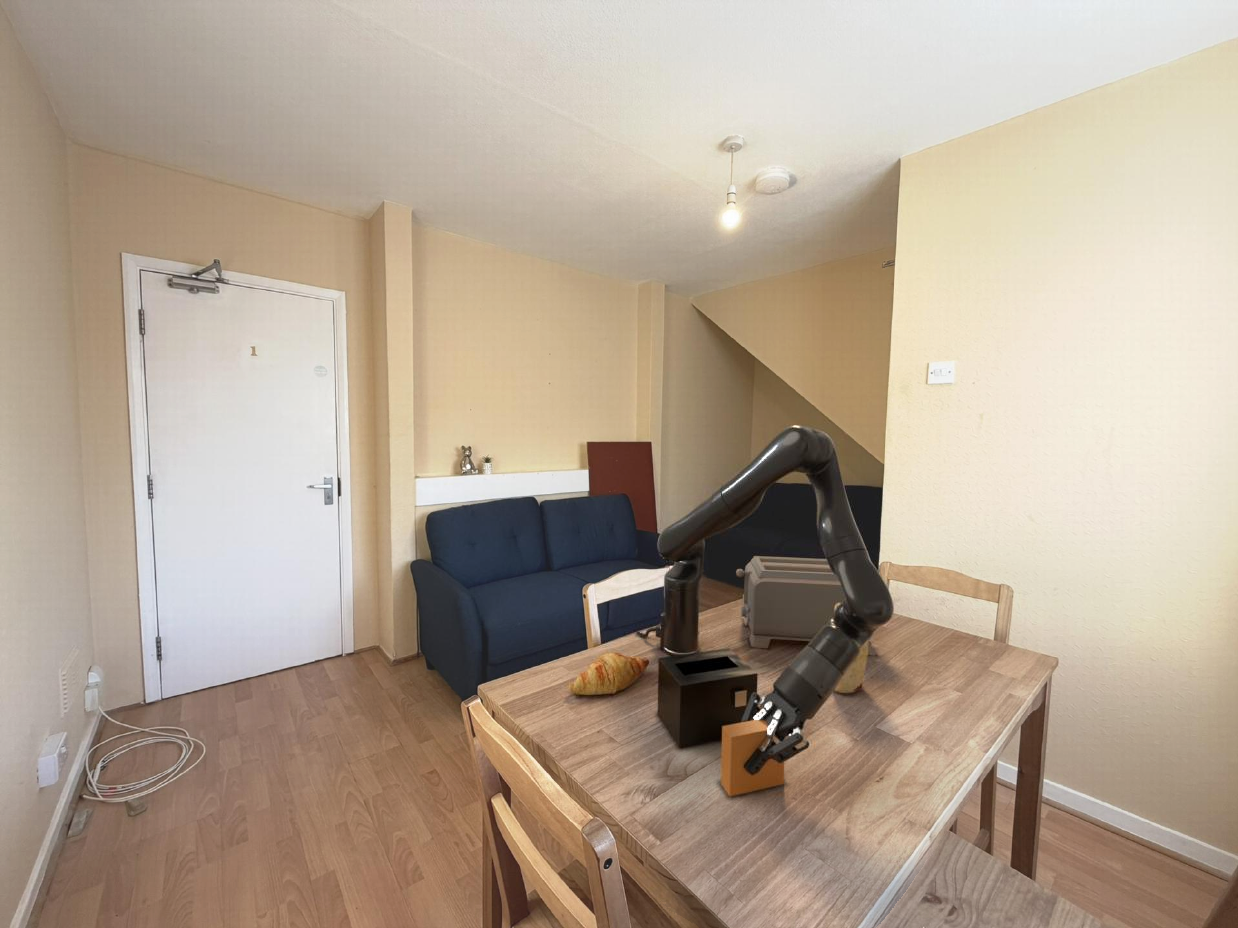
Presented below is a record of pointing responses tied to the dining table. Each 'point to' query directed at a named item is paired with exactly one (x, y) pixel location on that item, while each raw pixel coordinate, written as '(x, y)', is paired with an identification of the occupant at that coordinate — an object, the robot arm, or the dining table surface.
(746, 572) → the toaster
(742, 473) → the robot arm
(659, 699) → the slot toaster
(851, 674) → the food model
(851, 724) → the dining table surface
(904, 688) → the dining table surface
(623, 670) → the croissant
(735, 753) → the orange slab
